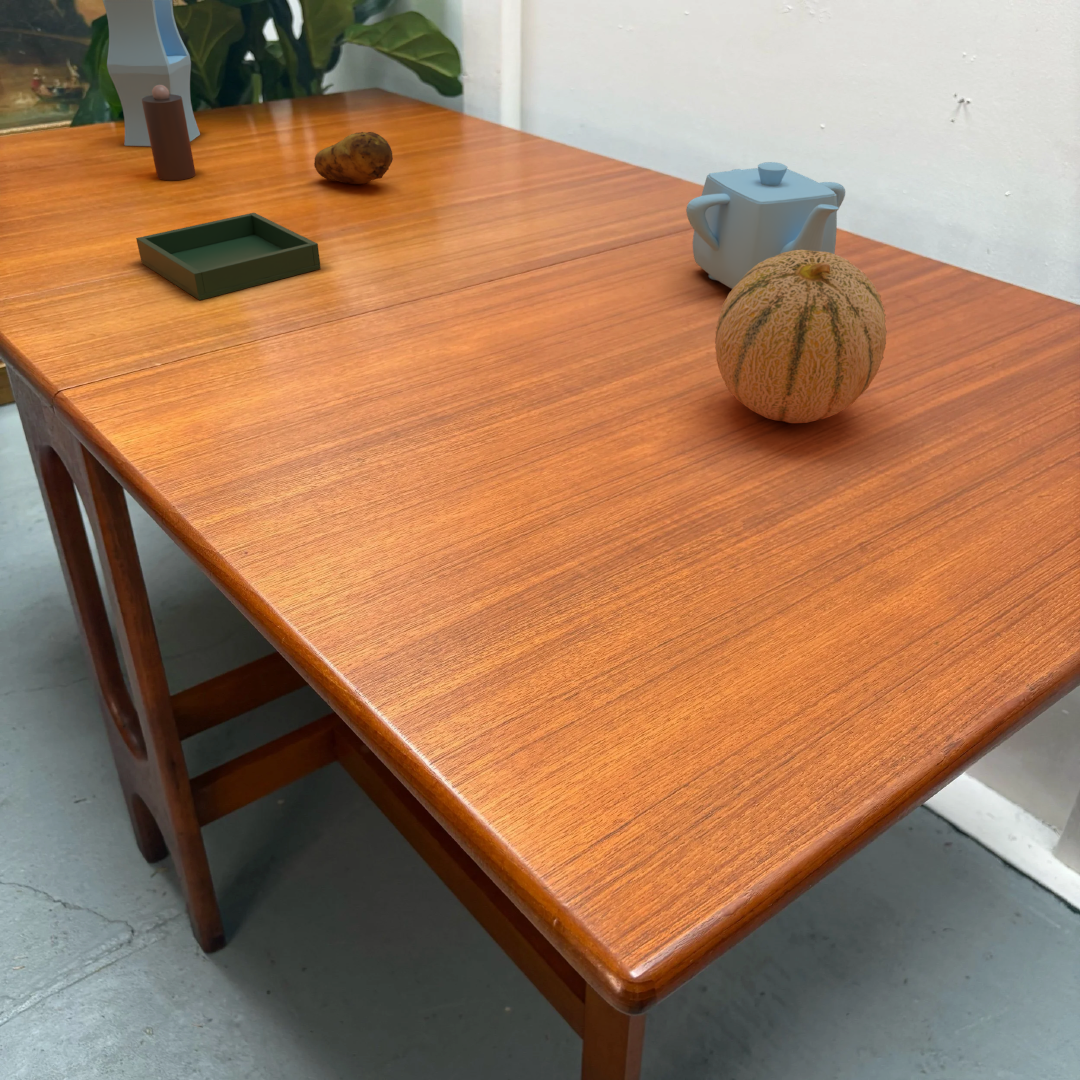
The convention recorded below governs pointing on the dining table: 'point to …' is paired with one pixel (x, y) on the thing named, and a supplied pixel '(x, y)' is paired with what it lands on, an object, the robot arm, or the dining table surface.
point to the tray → (228, 255)
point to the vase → (146, 61)
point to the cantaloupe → (801, 336)
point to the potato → (355, 159)
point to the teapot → (760, 218)
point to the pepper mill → (168, 135)
